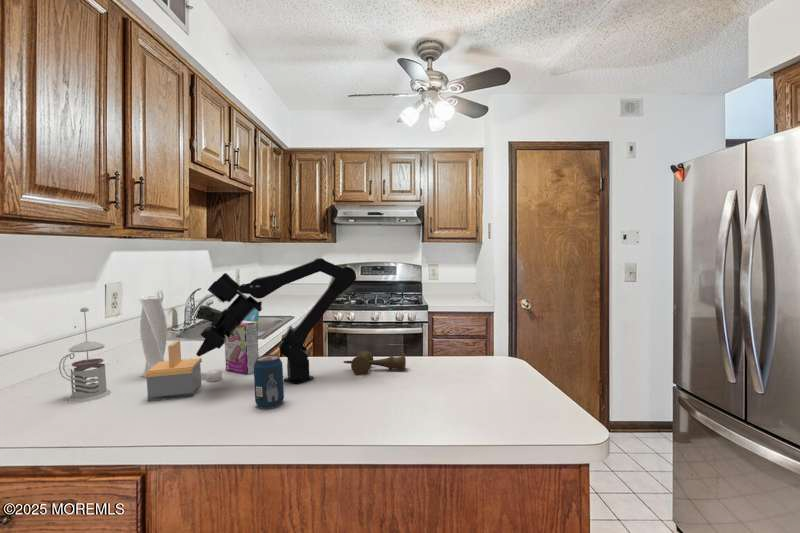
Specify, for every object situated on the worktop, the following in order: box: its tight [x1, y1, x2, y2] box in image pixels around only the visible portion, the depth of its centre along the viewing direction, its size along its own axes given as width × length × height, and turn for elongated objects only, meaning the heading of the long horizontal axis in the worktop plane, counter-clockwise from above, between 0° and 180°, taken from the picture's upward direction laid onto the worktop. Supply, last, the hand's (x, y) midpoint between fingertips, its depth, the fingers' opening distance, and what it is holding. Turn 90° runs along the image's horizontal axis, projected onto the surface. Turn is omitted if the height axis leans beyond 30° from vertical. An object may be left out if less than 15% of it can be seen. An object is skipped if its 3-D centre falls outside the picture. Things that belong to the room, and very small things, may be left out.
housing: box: [146, 362, 202, 402], centre depth 116 cm, size 11×10×7 cm
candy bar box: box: [224, 321, 260, 375], centre depth 135 cm, size 11×5×16 cm, turn 59°
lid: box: [146, 340, 203, 377], centre depth 115 cm, size 11×12×7 cm
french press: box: [58, 306, 112, 403], centre depth 115 cm, size 10×12×25 cm
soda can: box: [253, 354, 285, 410], centre depth 104 cm, size 7×7×12 cm
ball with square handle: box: [201, 369, 223, 383], centre depth 127 cm, size 7×4×2 cm, turn 72°
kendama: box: [342, 350, 407, 376], centre depth 131 cm, size 6×10×20 cm
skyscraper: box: [139, 290, 168, 379], centre depth 133 cm, size 8×8×28 cm
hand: (197, 355), depth 117 cm, fingers closed
